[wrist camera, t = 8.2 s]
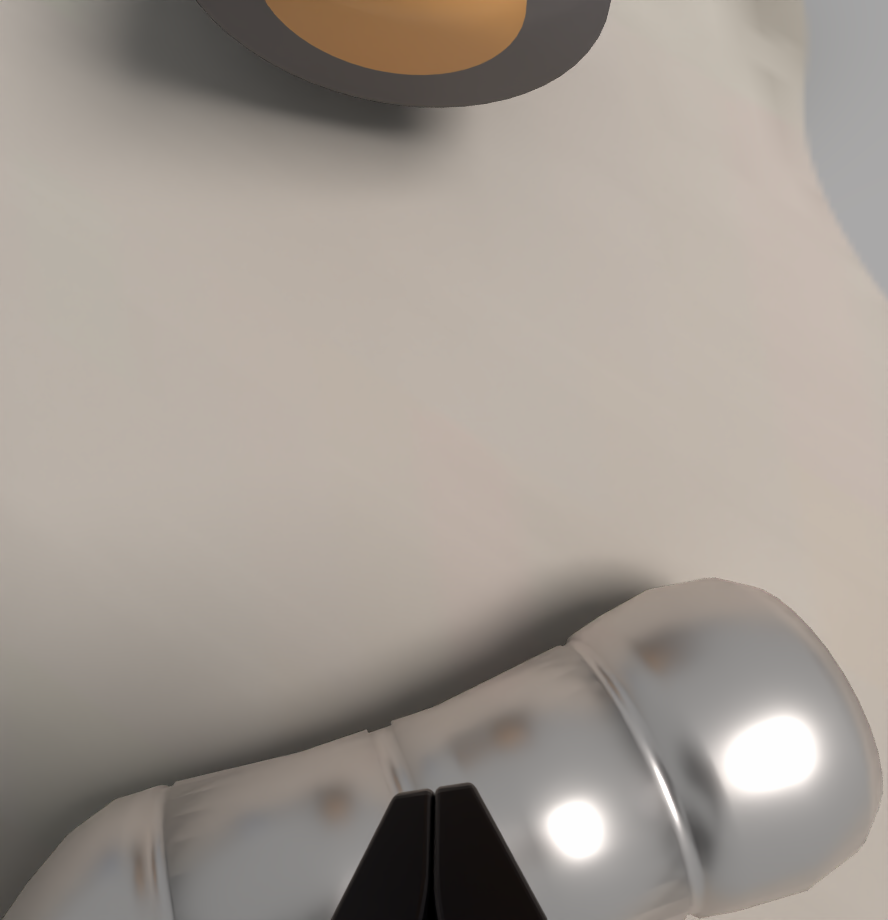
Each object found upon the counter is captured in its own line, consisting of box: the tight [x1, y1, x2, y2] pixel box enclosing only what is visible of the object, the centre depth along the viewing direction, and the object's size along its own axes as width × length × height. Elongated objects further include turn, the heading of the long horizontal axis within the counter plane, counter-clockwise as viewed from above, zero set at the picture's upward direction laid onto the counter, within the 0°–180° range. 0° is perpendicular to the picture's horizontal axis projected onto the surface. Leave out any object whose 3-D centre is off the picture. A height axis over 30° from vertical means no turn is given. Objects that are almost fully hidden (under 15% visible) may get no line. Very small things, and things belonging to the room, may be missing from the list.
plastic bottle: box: [2, 578, 883, 920], centre depth 17 cm, size 6×7×20 cm
